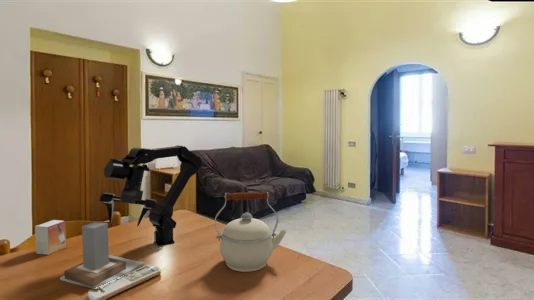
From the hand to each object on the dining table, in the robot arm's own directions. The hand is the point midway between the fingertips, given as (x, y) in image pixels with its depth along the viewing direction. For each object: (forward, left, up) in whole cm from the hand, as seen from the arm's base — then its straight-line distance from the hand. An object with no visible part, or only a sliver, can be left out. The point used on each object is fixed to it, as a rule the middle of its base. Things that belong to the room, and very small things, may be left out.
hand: (124, 224), depth 114 cm
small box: (+22, -20, -12) cm, 32 cm away
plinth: (+8, +10, -12) cm, 17 cm away
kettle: (-36, +29, -12) cm, 48 cm away
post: (+10, +12, -8) cm, 17 cm away
